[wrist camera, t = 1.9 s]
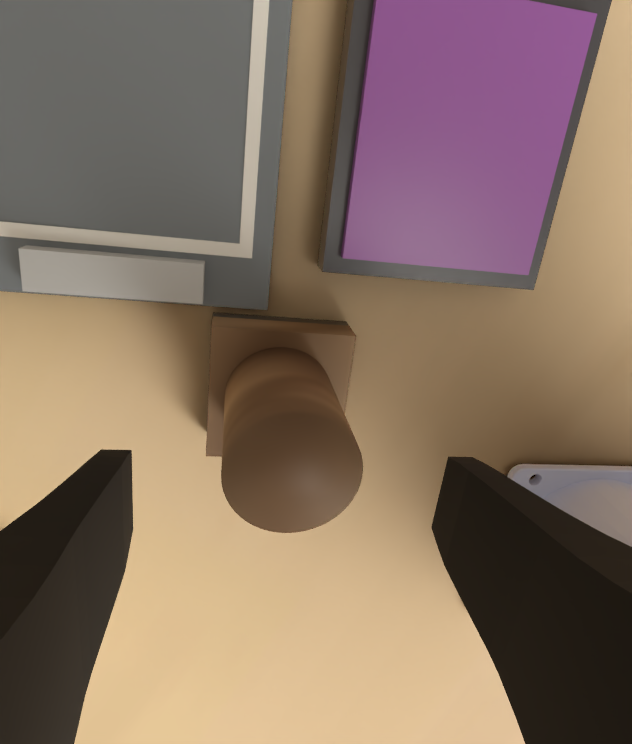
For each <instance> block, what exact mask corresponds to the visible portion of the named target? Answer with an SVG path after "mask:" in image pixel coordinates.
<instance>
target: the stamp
mask: <svg viewBox="0 0 632 744" xmlns="http://www.w3.org/2000/svg"><path fill="white" fill-rule="evenodd" d="M355 341H356V335H355V334H354V332H353V331H352V329H351V328H350V326H349V325H348V323H347V322H343V321H328V320H314V319H300V318H285V317H271V316H257V315H243V314H228V313H214V312H213V318H212V325H211V346H210V370H209V394H208V418H207V443H206V456H222V471H221V479H222V487H223V491H224V494H225V497H226V499H227V501H228V503H229V504H230V506H231V507H232V508H233V510H234V511H235V512H236V513H237V514H238V515H239V516H240V517H241V518H243V519H244V520H245V521H247V522H248V523H250V524H252V525H254V526H256V527H259V528H261V529H264V530H268V531H273V532H281V533H292V532H301V531H306V530H309V529H313V528H316V527H318V526H321V525H323V524H325V523H327V522H329V521H330V520H332V519H333V518H335V517H336V516H337V515H339V514H340V513H341V512H342V511H343V510H344V509H345V508H346V507H347V506H348V505H349V504H350V502H351V501H352V500H353V498H354V496H355V495H356V493H357V491H358V488H359V486H360V483H361V479H362V472H363V462H362V456H361V452H360V450H359V447H358V444H357V442H356V440H355V437H354V435H353V433H352V430H351V428H350V426H349V423H348V421H347V419H346V416H345V408H346V401H347V395H348V388H349V381H350V374H351V368H352V361H353V354H354V347H355Z"/></svg>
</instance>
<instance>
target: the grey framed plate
mask: <svg viewBox="0 0 632 744" xmlns="http://www.w3.org/2000/svg"><path fill="white" fill-rule="evenodd" d="M291 13H292V0H0V291H7V292H21V293H35V294H49V295H63V296H77V297H91V298H105V299H119V300H133V301H147V302H161V303H175V304H189V305H203V306H217V307H231V308H244V309H258V310H267V309H268V297H269V285H270V272H271V260H272V248H273V235H274V223H275V211H276V198H277V186H278V174H279V161H280V149H281V136H282V124H283V112H284V99H285V87H286V75H287V62H288V50H289V38H290V25H291Z"/></svg>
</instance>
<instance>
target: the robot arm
mask: <svg viewBox="0 0 632 744" xmlns="http://www.w3.org/2000/svg"><path fill="white" fill-rule="evenodd" d="M535 474H536V476H535V477H534V478H533V479H530V478H531V476H533V475H535ZM529 479H530V480H529ZM432 530H433V533H434V536H435V540H436V543H437V546H438V549H439V552H440V554H441V557H442V560H443V562H444V565H445V567H446V569H447V571H448V574H449V576H450V578H451V580H452V582H453V584H454V586H455V588H456V590H457V592H458V594H459V596H460V597H461V599H462V601H463V603H464V605H465V607H466V609H467V611H468V613H469V615H470V617H471V619H472V621H473V623H474V625H475V627H476V628H477V630H478V632H479V634H480V636H481V638H482V640H483V642H484V644H485V646H486V648H487V650H488V652H489V654H490V656H491V658H492V660H493V663H494V665H495V667H496V669H497V671H498V673H499V676H500V678H501V681H502V683H503V686H504V689H505V691H506V694H507V696H508V699H509V701H510V704H511V706H512V709H513V711H514V714H515V716H516V719H517V722H518V724H519V727H520V730H521V733H522V735H523V738H524V741H525V744H632V466H598V465H551V464H519V465H516V466H514V467H513V468H512V469H511V470H510V471H509V473H508V476H505V475H504V474H502V473H500V472H499V471H497V470H495V469H493V468H492V467H490V466H488V465H487V464H485V463H483V462H481V461H479V460H477V459H475V458H473V457H448V460H447V464H446V469H445V473H444V477H443V481H442V485H441V490H440V494H439V498H438V502H437V506H436V511H435V515H434V519H433V523H432ZM132 532H133V503H132V454H131V450H100V451H99V452H98V453H97V454H96V455H94V456H93V457H92V458H91V459H89V460H88V461H87V462H86V463H85V464H84V465H83V466H81V467H80V468H79V469H78V470H77V471H76V472H75V473H73V474H72V475H71V476H70V477H69V478H68V479H66V480H65V481H64V482H63V483H62V484H61V485H59V486H58V487H57V488H56V489H55V490H53V491H52V492H51V493H50V494H48V495H47V496H46V497H45V498H44V499H42V500H41V501H40V502H39V503H38V504H36V505H35V506H33V507H32V508H31V509H29V510H28V511H27V512H25V513H24V514H23V515H21V516H20V517H19V518H17V519H16V520H15V521H13V522H12V523H11V524H9V525H8V526H7V527H5V528H4V529H2V530H1V531H0V744H74V742H75V737H76V733H77V728H78V724H79V720H80V715H81V711H82V706H83V702H84V698H85V694H86V691H87V687H88V684H89V680H90V677H91V673H92V670H93V667H94V664H95V661H96V658H97V655H98V652H99V649H100V646H101V643H102V640H103V637H104V634H105V631H106V628H107V625H108V622H109V619H110V616H111V613H112V609H113V606H114V603H115V600H116V597H117V594H118V591H119V588H120V585H121V582H122V579H123V575H124V572H125V568H126V563H127V558H128V553H129V548H130V542H131V537H132Z"/></svg>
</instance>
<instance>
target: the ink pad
mask: <svg viewBox="0 0 632 744" xmlns="http://www.w3.org/2000/svg"><path fill="white" fill-rule="evenodd" d="M611 1H612V0H348V2H347V11H346V20H345V28H344V37H343V46H342V55H341V64H340V72H339V81H338V90H337V99H336V108H335V116H334V125H333V134H332V143H331V152H330V160H329V169H328V178H327V187H326V196H325V204H324V213H323V222H322V231H321V240H320V248H319V257H318V267H319V268H320V269H321V271H322V272H331V273H343V274H354V275H366V276H378V277H389V278H401V279H412V280H424V281H435V282H447V283H459V284H470V285H482V286H493V287H505V288H517V289H528V290H534V287H535V283H536V279H537V275H538V272H539V268H540V264H541V261H542V257H543V253H544V249H545V246H546V242H547V238H548V235H549V231H550V227H551V224H552V220H553V216H554V212H555V209H556V205H557V201H558V198H559V194H560V190H561V187H562V183H563V179H564V175H565V172H566V168H567V164H568V161H569V157H570V153H571V149H572V146H573V142H574V138H575V135H576V131H577V127H578V124H579V120H580V116H581V112H582V109H583V105H584V101H585V98H586V94H587V90H588V86H589V83H590V79H591V75H592V72H593V68H594V64H595V61H596V57H597V53H598V49H599V46H600V42H601V38H602V35H603V31H604V27H605V24H606V20H607V16H608V12H609V9H610V5H611Z"/></svg>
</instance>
